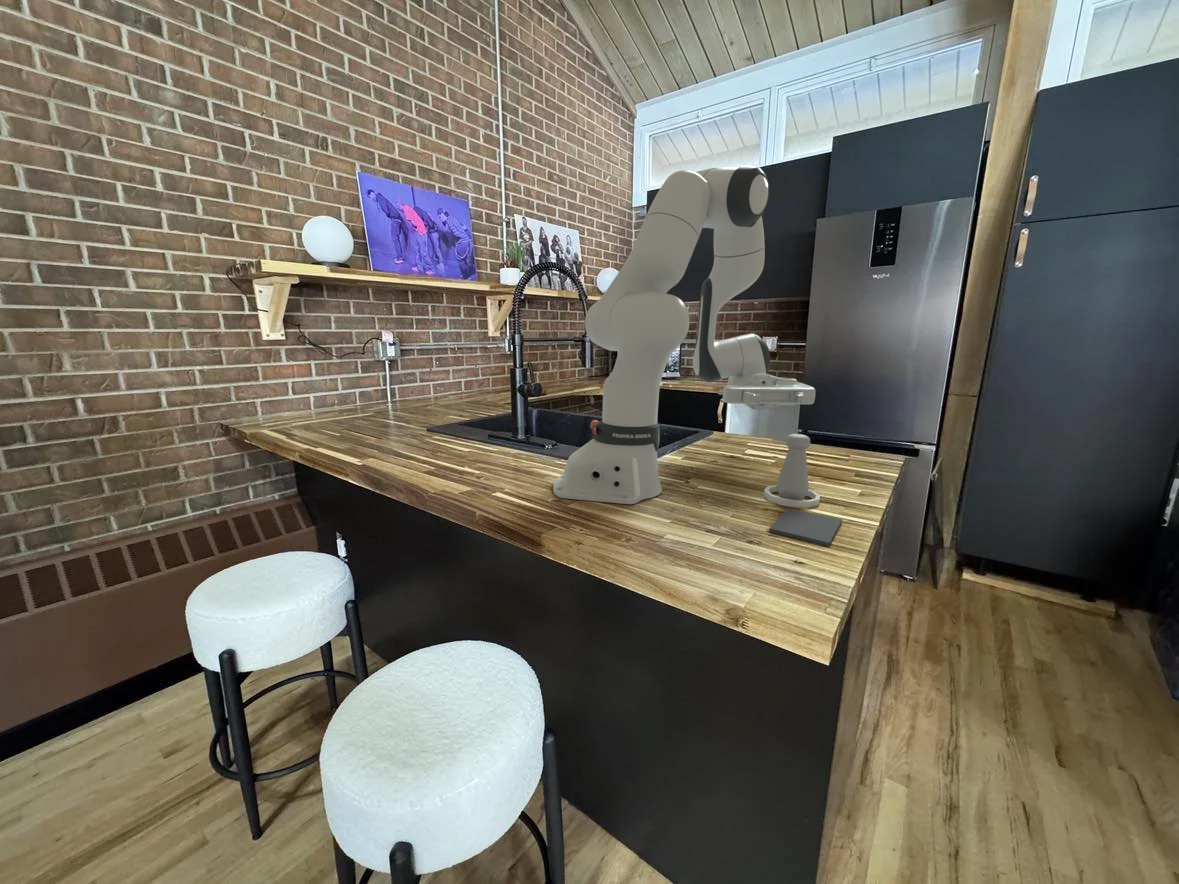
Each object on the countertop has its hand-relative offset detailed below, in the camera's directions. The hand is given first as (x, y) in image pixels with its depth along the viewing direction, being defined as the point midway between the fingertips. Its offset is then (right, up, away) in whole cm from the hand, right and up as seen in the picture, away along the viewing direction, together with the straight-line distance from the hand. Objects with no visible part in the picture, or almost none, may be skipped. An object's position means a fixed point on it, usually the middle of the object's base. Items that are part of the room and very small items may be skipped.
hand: (779, 399), depth 102 cm
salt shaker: (-1, -21, -8) cm, 22 cm away
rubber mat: (-4, -24, -22) cm, 32 cm away
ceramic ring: (-1, -21, -8) cm, 22 cm away
